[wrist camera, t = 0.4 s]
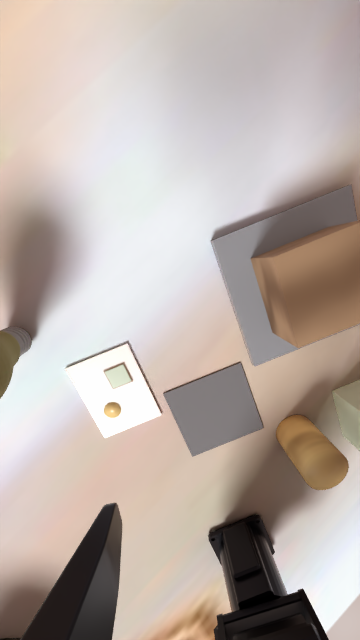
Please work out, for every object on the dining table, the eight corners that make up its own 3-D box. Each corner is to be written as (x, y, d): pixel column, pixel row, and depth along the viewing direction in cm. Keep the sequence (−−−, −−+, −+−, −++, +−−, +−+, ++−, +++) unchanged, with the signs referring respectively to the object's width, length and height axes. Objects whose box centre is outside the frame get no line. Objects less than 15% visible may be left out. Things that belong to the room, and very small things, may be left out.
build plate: (366, 316, 23) (374, 318, 22) (251, 362, 23) (254, 366, 22) (343, 187, 20) (351, 184, 19) (210, 241, 20) (212, 240, 19)
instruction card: (161, 413, 23) (161, 416, 23) (105, 436, 23) (104, 439, 23) (127, 343, 21) (126, 344, 21) (65, 368, 21) (64, 370, 21)
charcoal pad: (263, 427, 24) (263, 428, 24) (192, 455, 25) (192, 456, 24) (240, 362, 22) (240, 362, 22) (163, 393, 22) (163, 394, 22)
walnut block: (344, 304, 21) (386, 313, 17) (272, 332, 21) (298, 348, 17) (328, 226, 19) (370, 217, 16) (250, 258, 19) (273, 257, 16)
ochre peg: (315, 438, 26) (352, 479, 21) (281, 452, 26) (310, 496, 21) (307, 409, 25) (343, 445, 20) (271, 423, 25) (299, 462, 20)
